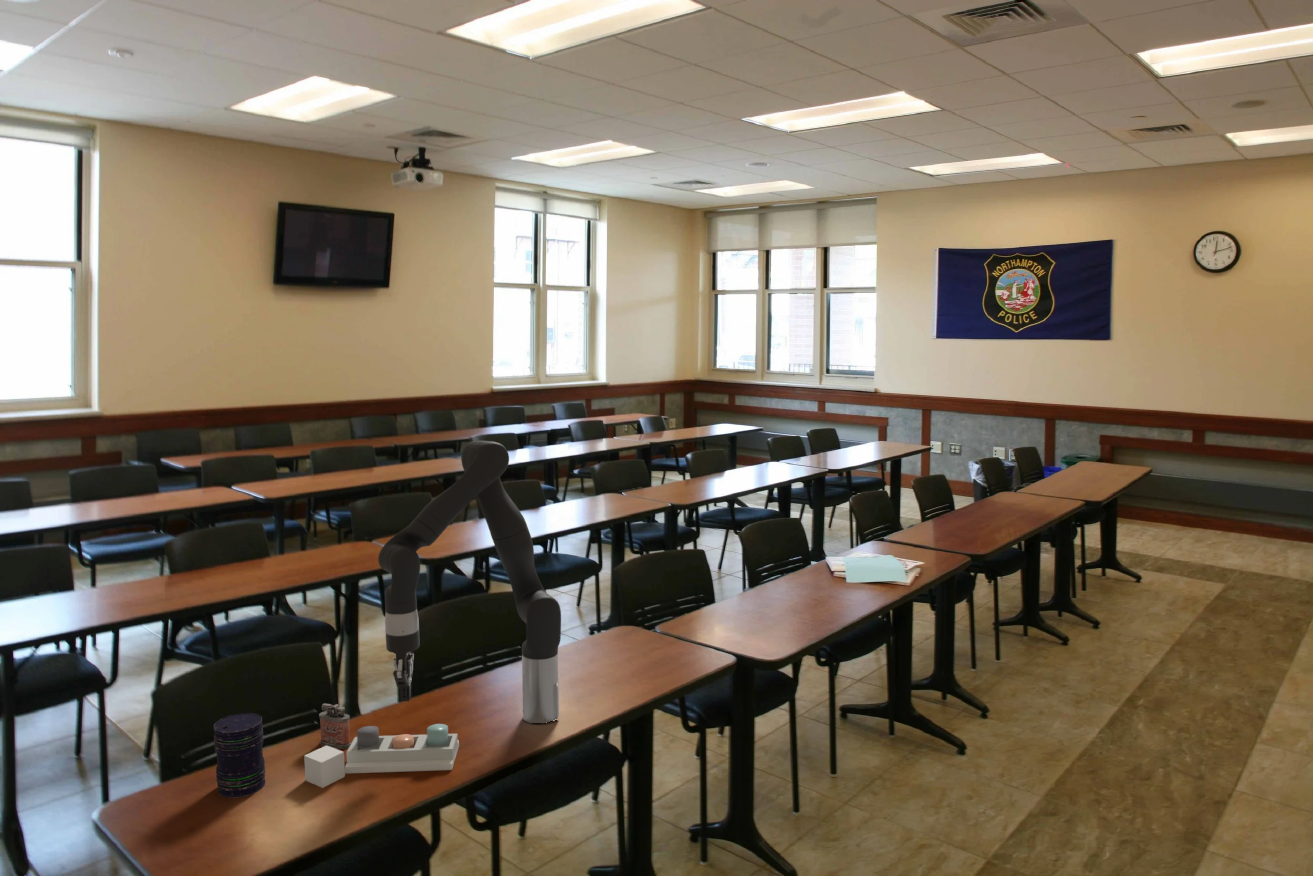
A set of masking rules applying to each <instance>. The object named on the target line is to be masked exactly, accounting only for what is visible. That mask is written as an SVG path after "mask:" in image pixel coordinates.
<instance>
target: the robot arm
mask: <svg viewBox="0 0 1313 876" xmlns="http://www.w3.org/2000/svg"><path fill="white" fill-rule="evenodd" d="M460 459H461V466H462V469H463V471H464V473H463V474H462V475H461V477H459V479H457V480H456V481H455V482H454V483H452V485H451V486H449V487H448V488H446V489H445V490H444V491H442V492H441V493H439V495H437V496H436V497H434V498H432V500H431V501H429V503H427V504H426V505H425V506H424V507H423V508H422V510H421V511H420V512H419V513H418V514H417V515H416V517H414V519H413V520H412V521H411V523H409V524H408V525H407V526H406V527H405V528H403V529H402V530H400V531H399V532H398V533H396V534H395V535H394V536H392V537H391V538H390V539H388V540H387V541H386V543H384V545H383V546H382V547H381V548H380V551H379V554H378V557H377V558H378V559H377V560H378V561H377V562H378V564H379V565H378V566H379V567H380V568H381V569H382V570H383V571H385V572H387V573H389V574H391V581H390V585H388V586H387V587H386V588H385V591H384V607H385V617H384V627H385V629H384V630H385V632H384V633H385V646H386V647H385V648H386V650H387V652H390V653H392V654H395V657H394V658H393V666H394V669H395V670H393V672H392V675H393V677H394V680H395V684H396V688H397V687H398V688H399V700H400V702H409V701H410V700H411V698H412V691H411V688H412V687H411V683H412V681H413V680H412V678H413V671H414V659H415V658H414V657H415V653H414V651H417V650H418V649H419V648H420V646H421V645H420V641H421V640H420V623H419V621H420V620H419V614H418V602H417V588H418V584H419V578H420V573H421V560H420V556H419V553H417V551H418V550H420V549H421V548H425V547H430V546H432V545H433V544H434V543H435V542H436V540H437V539H438V538H439V537H440V536H441V535H442V534H443V532H444V531H445V530H446V529H447V528H448V527H449V525H450V524H451V523H452V522H453V521H454V520H455V519H456V517H458V515H460V513H461V512H462V511H463V510H464V509H465V508H466V507H467V506H468V505H469V504H470V503H471V502H472V501H474V500H475V499H476V498H477V500H478V503H479V505H480V508H481V510H482V511H481V512H482V514H483V518H484V519H485V521H486V524H487V527H488V530H489V533H490V536H491V539H492V542H493V545H494V547H495V550H496V552H497V555H498V558H499V561H501V564H502V567H503V569H504V571H505V573H506V575H507V578H508V580H509V584H510V586H511V590H512V594H513V598H514V602H515V606H516V611H517V614H518V616H519V618H520V619H521V620H522V621H523V622H524V623H525V624H526V640H524V641H523V643H522V644H521V669H522V670H521V673H522V674H521V675H522V679H521V680H522V682H521V683H522V719H523V720H524V721H525V722H526V723H529V724H532V723H546V722H550V721H553V720H555V719H558V717H559V716H560V692H559V691H560V689H559V685H560V684H559V683H560V682H559V645H560V643H561V635H562V632H561V631H562V611H561V605H560V604H559V602H558V600H556V599H555V598H554V597H553V596H552V595H550V594H549V593H547V591H546V590H545V588H544V587H543V584H542V583H541V580H540V578H539V576H538V573H537V570H536V566H535V552H534V551H535V549H534V543H533V539H532V535H531V533H530V530H529V527H528V525H527V524H528V523H527V522H526V519H525V517H524V515H523V514H522V512H521V511H520V509H519V507H517V505H516V503H515V502H514V501H513V500H512V498H511V497H510V496H509V494H508V493H507V491H506V490H505V487H504V486H503V484H502V480H501V476H502V475H503V474H504V473H505V472H506V470H507V469H508V466H509V463H510V455H509V452H508V450H507V448H506V447H505V446H504V445H503V444H502V443H499V442H496V441H492V440H491V441H490V440H473V441H470V442H468V443H467V444H466V445H465V446H464V447H463V450H462V452H461V458H460ZM558 720H559V719H558ZM553 722H554V721H553ZM550 723H551V722H550ZM546 724H547V723H546Z"/></svg>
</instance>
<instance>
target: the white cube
mask: <svg viewBox="0 0 1313 876" xmlns="http://www.w3.org/2000/svg"><path fill="white" fill-rule="evenodd" d="M303 758H304V777H305V778H304V779H305V781H306V782H308V783H310V784H313V785H314V786H317V787H319V788H322V789H324V788H325V787H327V786H330V785H331V784H333V783H335V782H337V781H339V780H341V779H344V778H346V774H345V766H346V765H345V753H344V751H342V750H340V749H338V748H332V747H330V746H327V745H326V746H324V745H323V746H322V747H321V748H318V749H315V750H313V751H311V752H309V753H307V754H304V757H303Z"/></svg>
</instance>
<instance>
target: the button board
mask: <svg viewBox="0 0 1313 876" xmlns="http://www.w3.org/2000/svg"><path fill="white" fill-rule="evenodd" d="M398 735H399V734H398ZM398 735H379V743H378V744H377V745H375V746H372V747H360V746H358V743H357V736H354V738H353V740H352V742H351V745H350V747H349V748H347V750H346V764H345V765H344V766H345V775H346V774H369V773H397V772H399V773H400V772H401V773H402V772H429V771H452V770H453V767H454V764H455V760H456V757H457V755H458V750H459V747H460V741H459V739H458V733H448V741H447V742H446V743H444V744H441V745H431V744H429V743H428V742H427V734H411V735H412V736H413V737H414V748H405V749H393V741H392V740H393V738H394V737H396V736H398Z"/></svg>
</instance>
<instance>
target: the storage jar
mask: <svg viewBox="0 0 1313 876" xmlns="http://www.w3.org/2000/svg"><path fill="white" fill-rule="evenodd" d="M213 731H214V733H213V735H214V736H213V743H214V752H215V753H216V768H215V774H216V776H215V777H216V779H215V780H216V783H217V784H216V785H217V794H218V793H219V794H218V795H219V796H220V797H224V798H227V797H228V799H233V798H234V799H235V798H237V799H238V798H242V797H247V795H248V796H250V795H253V794H255V793H257V792H260V791H261V790H262V789H263V788H264V787H265V785H266V761H265V758H264V755H263V754H264V753H263V744H264V738H265V737H264V729H263V717H262V716H261V715H259V714H258V713H255V712H254V713H252V712H243V713H242V712H241V713H240V712H239V713H236V714H231V715H227V716H224V717H223V718H221V719H219V720H217V721H216V722H215V723H214V724H213Z"/></svg>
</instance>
